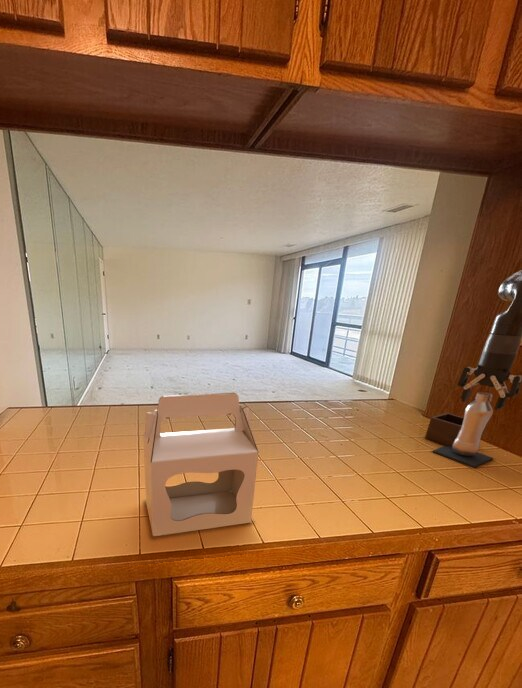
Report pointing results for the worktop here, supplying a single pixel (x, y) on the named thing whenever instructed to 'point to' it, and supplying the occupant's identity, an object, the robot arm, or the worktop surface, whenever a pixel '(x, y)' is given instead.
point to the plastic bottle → (473, 425)
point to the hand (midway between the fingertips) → (480, 405)
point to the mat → (463, 456)
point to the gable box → (199, 466)
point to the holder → (444, 428)
